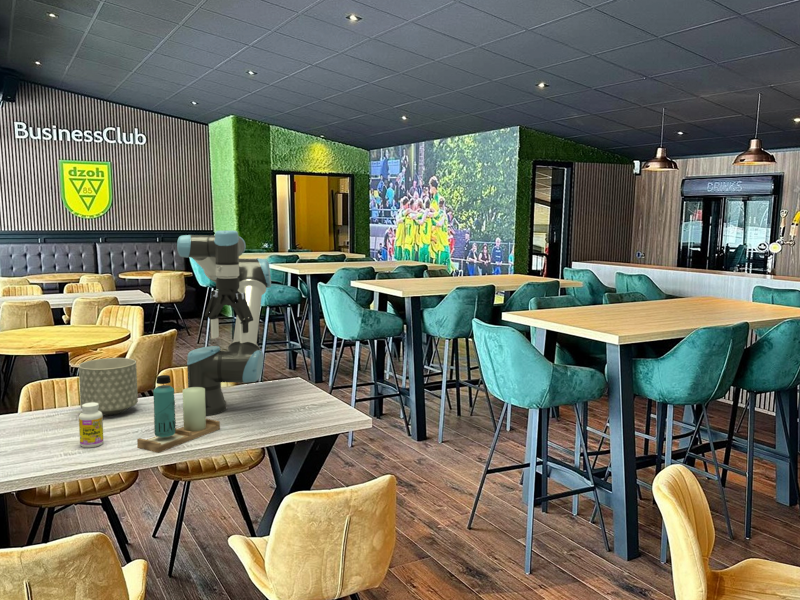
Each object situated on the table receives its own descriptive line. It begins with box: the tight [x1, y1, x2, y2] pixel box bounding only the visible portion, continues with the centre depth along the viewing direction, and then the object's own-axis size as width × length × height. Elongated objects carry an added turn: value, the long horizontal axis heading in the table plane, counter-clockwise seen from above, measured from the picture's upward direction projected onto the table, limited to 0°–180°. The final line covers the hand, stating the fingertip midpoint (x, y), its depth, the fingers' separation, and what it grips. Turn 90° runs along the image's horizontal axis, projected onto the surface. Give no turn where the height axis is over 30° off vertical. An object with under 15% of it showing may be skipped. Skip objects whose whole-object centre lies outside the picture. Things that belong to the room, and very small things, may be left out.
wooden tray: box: [136, 418, 221, 453], centre depth 209 cm, size 9×26×3 cm, turn 152°
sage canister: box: [182, 387, 207, 432], centre depth 214 cm, size 7×7×13 cm
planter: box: [78, 357, 139, 416], centre depth 236 cm, size 19×19×18 cm
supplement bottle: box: [78, 402, 104, 448], centre depth 202 cm, size 7×7×13 cm
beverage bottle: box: [152, 374, 177, 437], centre depth 203 cm, size 6×7×20 cm
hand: (229, 340), depth 219 cm, fingers open, 13 cm apart
